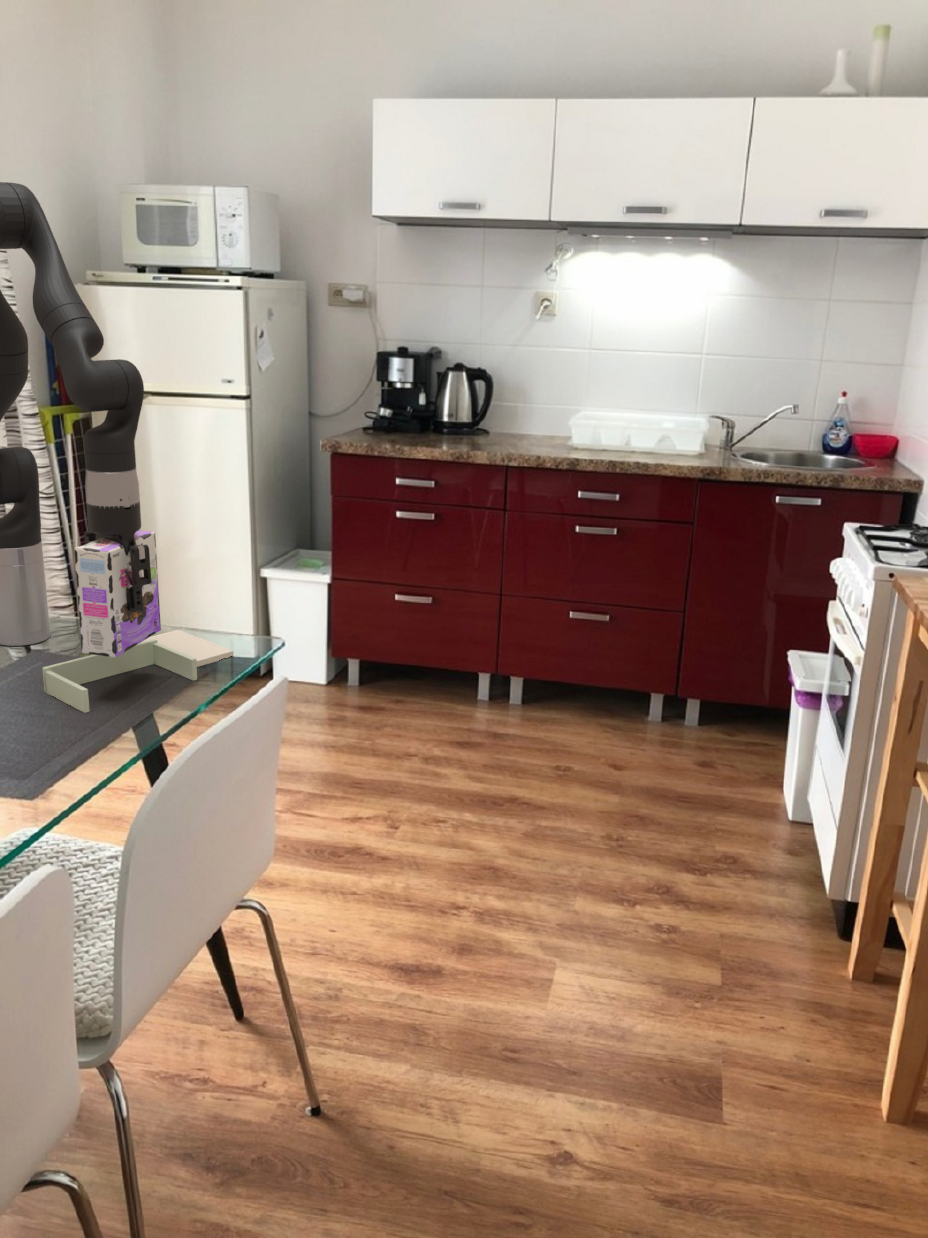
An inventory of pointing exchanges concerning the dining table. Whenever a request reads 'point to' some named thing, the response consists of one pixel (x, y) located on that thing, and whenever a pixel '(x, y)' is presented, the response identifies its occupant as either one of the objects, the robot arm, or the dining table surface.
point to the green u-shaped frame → (111, 670)
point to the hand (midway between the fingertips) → (120, 604)
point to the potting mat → (192, 646)
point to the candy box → (114, 597)
